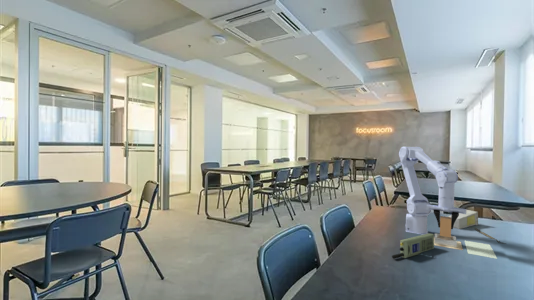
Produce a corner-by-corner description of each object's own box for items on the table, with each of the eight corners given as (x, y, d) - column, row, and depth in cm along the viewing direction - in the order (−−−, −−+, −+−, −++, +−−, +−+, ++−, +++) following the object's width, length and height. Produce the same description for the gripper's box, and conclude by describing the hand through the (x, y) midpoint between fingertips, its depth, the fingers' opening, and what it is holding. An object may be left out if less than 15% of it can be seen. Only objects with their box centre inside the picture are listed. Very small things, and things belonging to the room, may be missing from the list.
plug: (439, 235, 119) (440, 217, 119) (439, 233, 122) (440, 215, 122) (450, 237, 117) (451, 219, 117) (450, 235, 120) (451, 217, 120)
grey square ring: (434, 243, 118) (434, 238, 118) (434, 238, 125) (434, 233, 125) (456, 247, 114) (456, 241, 114) (455, 242, 121) (455, 236, 121)
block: (459, 230, 142) (460, 215, 142) (443, 226, 149) (444, 211, 149) (478, 225, 151) (478, 211, 151) (462, 221, 158) (462, 208, 158)
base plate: (428, 245, 118) (428, 244, 118) (429, 237, 128) (429, 236, 128) (462, 251, 111) (462, 250, 111) (460, 243, 121) (460, 241, 121)
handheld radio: (435, 250, 113) (397, 262, 101) (427, 248, 116) (389, 259, 104) (435, 234, 113) (397, 244, 101) (427, 232, 116) (389, 241, 104)
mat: (467, 254, 108) (468, 253, 108) (464, 241, 123) (464, 240, 123) (497, 260, 103) (497, 258, 103) (489, 245, 118) (489, 244, 118)
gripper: (426, 196, 120) (426, 227, 120) (467, 200, 112) (466, 233, 112) (427, 194, 126) (426, 223, 126) (465, 198, 118) (465, 229, 118)
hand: (445, 227), depth 120 cm, fingers closed on plug, 4 cm apart
